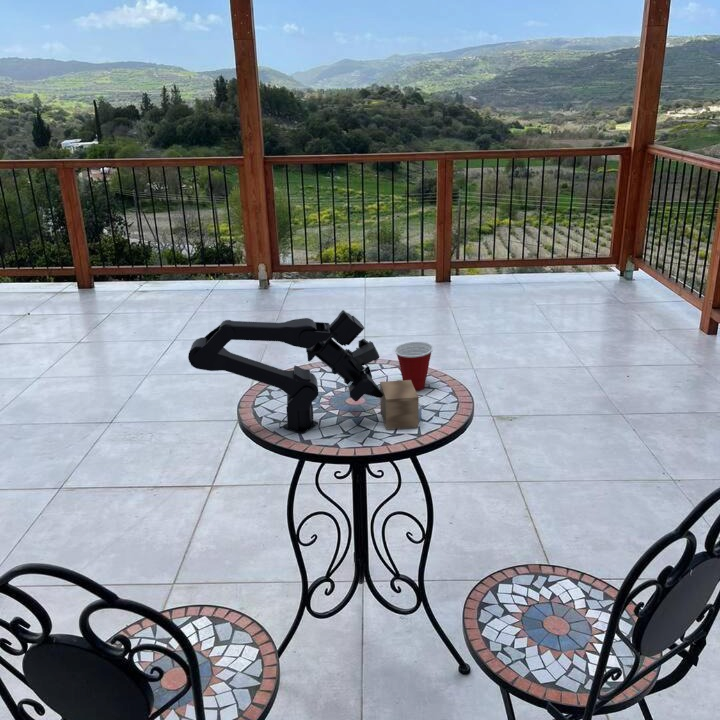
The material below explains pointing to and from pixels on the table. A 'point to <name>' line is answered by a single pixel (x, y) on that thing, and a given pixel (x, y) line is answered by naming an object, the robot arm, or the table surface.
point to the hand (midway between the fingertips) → (381, 396)
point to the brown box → (399, 404)
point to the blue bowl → (419, 413)
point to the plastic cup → (414, 362)
